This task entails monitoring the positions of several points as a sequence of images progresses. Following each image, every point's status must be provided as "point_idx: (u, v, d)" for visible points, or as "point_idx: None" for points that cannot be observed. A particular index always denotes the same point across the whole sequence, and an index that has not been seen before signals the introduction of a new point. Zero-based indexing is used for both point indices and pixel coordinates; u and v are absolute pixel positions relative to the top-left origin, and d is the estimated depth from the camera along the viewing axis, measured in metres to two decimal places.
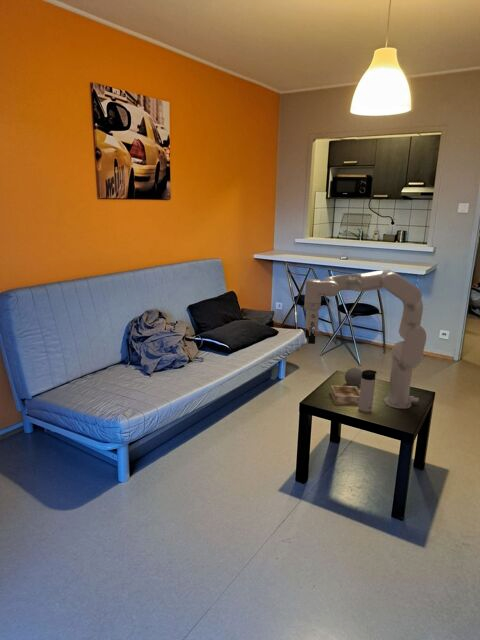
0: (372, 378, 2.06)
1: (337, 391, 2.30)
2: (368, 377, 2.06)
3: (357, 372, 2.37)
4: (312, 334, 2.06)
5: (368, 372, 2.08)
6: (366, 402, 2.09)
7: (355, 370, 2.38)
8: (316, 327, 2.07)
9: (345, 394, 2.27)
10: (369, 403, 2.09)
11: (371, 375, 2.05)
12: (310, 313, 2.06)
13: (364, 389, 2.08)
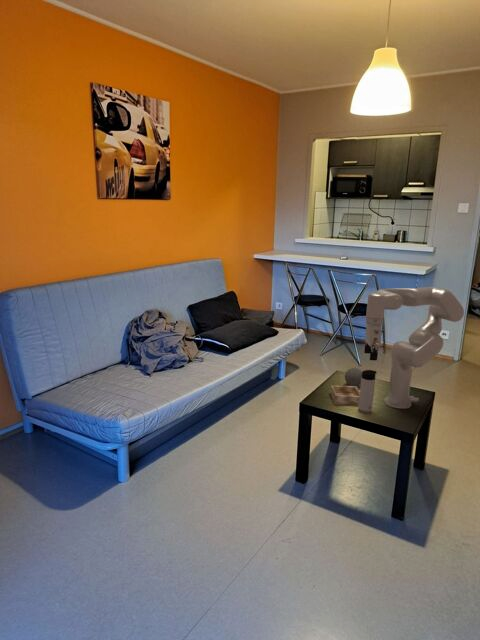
0: (372, 378, 2.06)
1: (337, 391, 2.30)
2: (368, 377, 2.06)
3: (357, 372, 2.37)
4: (375, 350, 1.98)
5: (368, 372, 2.08)
6: (366, 402, 2.09)
7: (355, 370, 2.38)
8: (379, 343, 1.99)
9: (345, 394, 2.27)
10: (369, 403, 2.09)
11: (371, 375, 2.05)
12: (373, 329, 1.98)
13: (364, 389, 2.08)
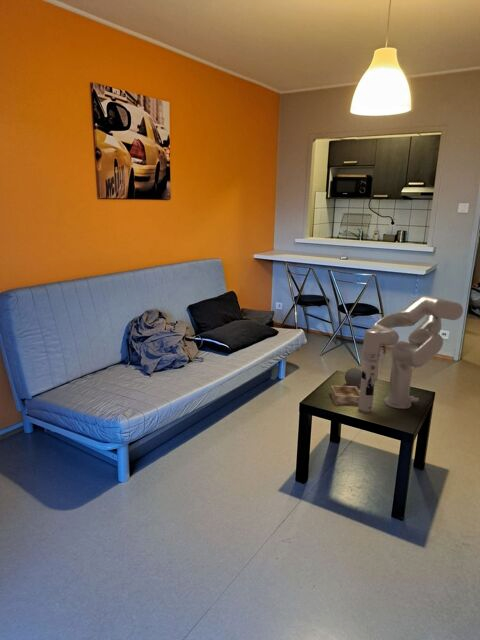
0: None
1: (337, 391, 2.30)
2: None
3: (357, 372, 2.37)
4: (371, 386, 2.04)
5: None
6: (366, 402, 2.09)
7: (355, 370, 2.38)
8: (375, 378, 2.03)
9: (345, 394, 2.27)
10: (369, 403, 2.09)
11: None
12: (370, 364, 2.02)
13: (364, 389, 2.08)
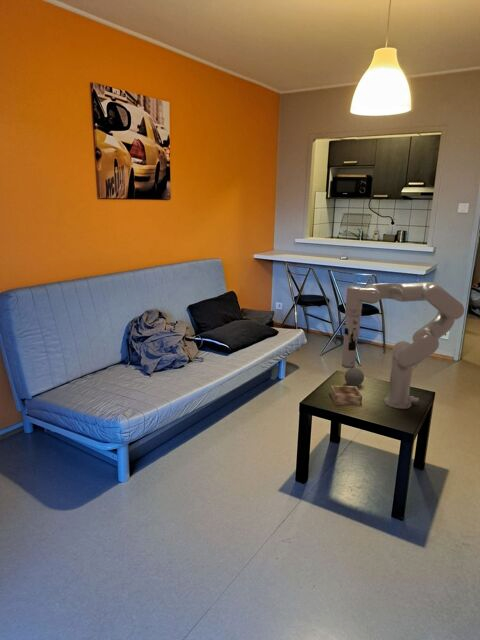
0: None
1: (337, 391, 2.30)
2: None
3: (357, 372, 2.37)
4: (353, 341, 2.11)
5: None
6: (348, 358, 2.16)
7: (355, 370, 2.38)
8: (357, 333, 2.11)
9: (345, 394, 2.27)
10: (352, 358, 2.16)
11: None
12: (352, 319, 2.10)
13: (346, 344, 2.15)
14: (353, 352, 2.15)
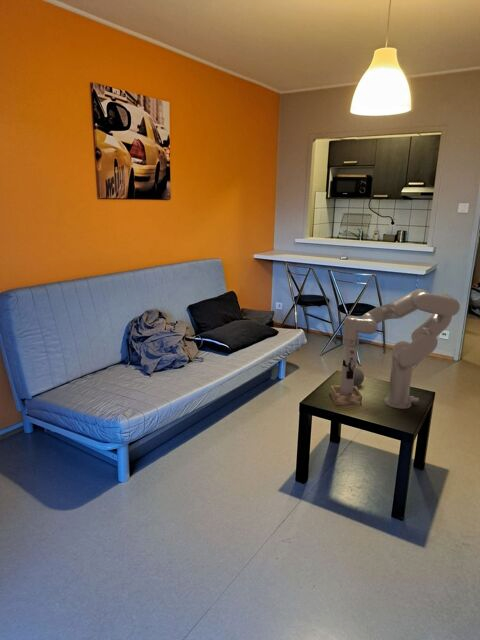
0: None
1: (337, 391, 2.30)
2: None
3: (357, 372, 2.37)
4: (351, 370, 2.14)
5: None
6: (346, 389, 2.20)
7: (355, 370, 2.38)
8: (355, 363, 2.14)
9: None
10: (349, 389, 2.20)
11: None
12: (349, 349, 2.13)
13: (344, 376, 2.19)
14: (351, 383, 2.20)
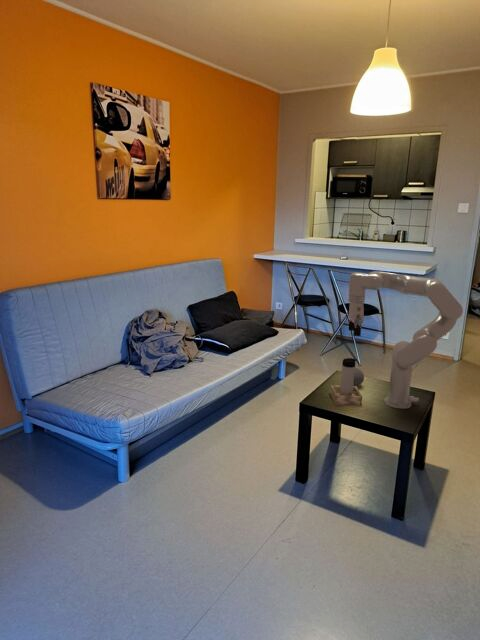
0: (352, 365, 2.17)
1: (337, 391, 2.30)
2: (348, 365, 2.17)
3: (357, 372, 2.37)
4: (358, 326, 2.11)
5: (348, 360, 2.20)
6: (346, 389, 2.20)
7: (355, 370, 2.38)
8: (361, 319, 2.12)
9: None
10: (349, 389, 2.20)
11: (351, 363, 2.17)
12: (355, 306, 2.11)
13: (344, 376, 2.19)
14: (351, 383, 2.20)
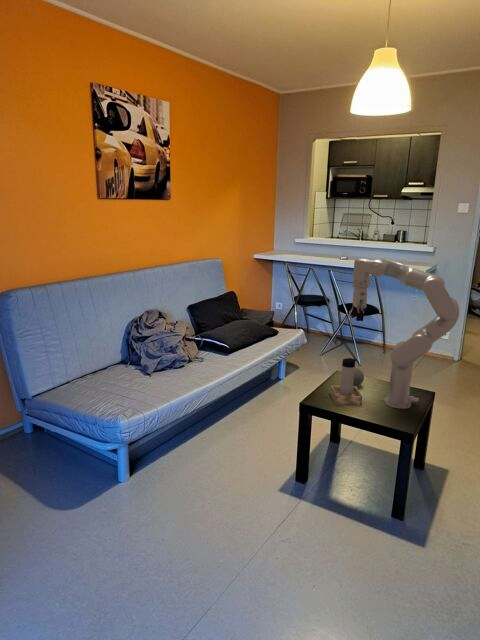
0: (352, 366, 2.17)
1: (337, 391, 2.30)
2: (348, 365, 2.17)
3: (357, 372, 2.37)
4: (361, 311, 2.13)
5: (348, 360, 2.19)
6: (346, 389, 2.20)
7: (355, 370, 2.38)
8: (365, 304, 2.14)
9: None
10: (349, 389, 2.20)
11: (351, 363, 2.17)
12: (359, 291, 2.13)
13: (344, 376, 2.19)
14: (350, 383, 2.19)
